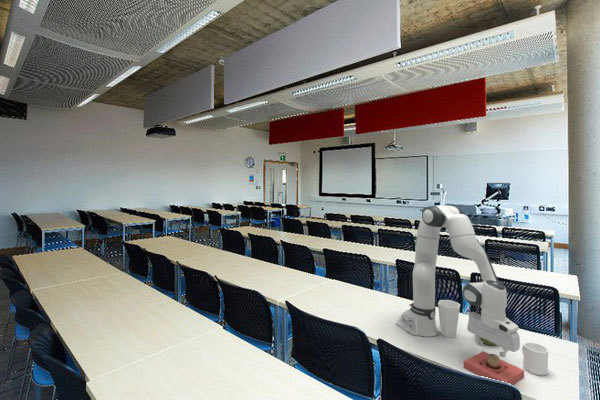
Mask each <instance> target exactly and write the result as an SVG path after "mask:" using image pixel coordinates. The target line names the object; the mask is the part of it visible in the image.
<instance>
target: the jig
mask: <svg viewBox="0 0 600 400" xmlns="http://www.w3.org/2000/svg"><path fill="white" fill-rule="evenodd" d="M488 354H489V353H488V352H486V351H481V352H479V353H477V354H475V355H473V356H471V357H469V358H467V359H465V360H463V369H466V370H467V371H469V372H470V373H473V374H475V375H477V376H478V375H480V376H484V377H488V378H491V379H495V380H499V381H504V382H507V383H510V384H512V385H511V386H513V385H514V384H516V383H517V382H519V381H521V380H523V379H524V378H525V369H522V368H520V367H518V366H516V365H513V364H511V363H509V362H507V361H504V360H503V359H501V358H499V369H492V368H490V367H488V366H487V364H488ZM480 376H479V377H480Z"/></svg>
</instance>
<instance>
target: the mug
mask: <svg viewBox="0 0 600 400" xmlns="http://www.w3.org/2000/svg"><path fill="white" fill-rule="evenodd" d="M521 353H522V355H523V368H524V370H525V371H527V372H528V373H531V374H533V375H536V376H539V377H540V376H546V375H547V374H548V370H549V367H548V365H549V349H548V348H547V347H546V346H545V345H543V344H540V343H538V342H537V343H536V342H524V344H523V345H522V347H521Z"/></svg>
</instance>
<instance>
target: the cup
mask: <svg viewBox="0 0 600 400" xmlns="http://www.w3.org/2000/svg"><path fill="white" fill-rule="evenodd" d="M437 306H438V307H437V308H438V309H437V310H438V317H439V319H438V320H439V328H440V334H441V336H444V337H445V338H449V339H450V338H451V339H455V338H456V336H457V331H458V330H457V329H458V324H459V318H460V310H461V309H460V308H461V304H460V303H458V302H457V301H454V300H450V299H439V301H438V303H437Z"/></svg>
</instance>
